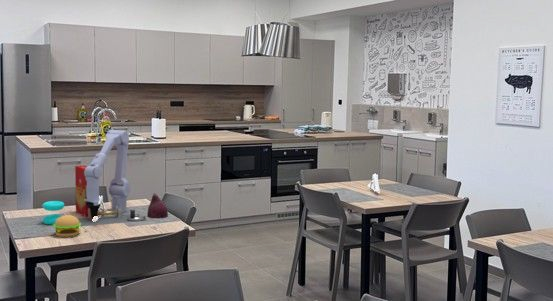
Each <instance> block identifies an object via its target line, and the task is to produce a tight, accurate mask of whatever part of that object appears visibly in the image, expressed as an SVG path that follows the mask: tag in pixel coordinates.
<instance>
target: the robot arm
mask: <svg viewBox="0 0 553 301" xmlns="http://www.w3.org/2000/svg"><path fill="white" fill-rule="evenodd" d="M129 142H130V134H129V133H128V132H127V130H118V129H117V130H116V129H108V130H107V133H105V141H104V144H103V146H102V148H101V149H100V151H99V152H97V153H95V155H94V158H93V159H92V160H91V163H90V164H89V165H86V166H87V167H86V168H85V171H84V175H85V177H86V181H87V199H84V201H89V202H86V205H87V207H88V208H90V211H91V217H92V219H93V217H94V216H97V214H98V212H99V210H100V207H101V204H100V203H99V202H100V177H101V176H102V173H103V167H104V165H105V163H106V162H107V160H108V158H107V155H108V154H109V153H110V151H111V150H112V148H113V147H116V157H115V172H114V178H112V180H110V185H109V188H108V193H109V195H110V196H111V197H112V198H111V204H110V206H111V208H110V211H116V206H117V205H119V206H121V207H122V214H124V213H127V209H128V208H127V199H128V197H129V195H130V193H131V188H130V182H129V180H127V178H126V174H127V173H126V172H127V161H128V152H129V151H128V148H129V144H130V143H129Z"/></svg>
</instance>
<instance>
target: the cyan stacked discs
mask: <svg viewBox="0 0 553 301" xmlns="http://www.w3.org/2000/svg"><path fill="white" fill-rule="evenodd" d="M41 207H42V208H43V209H44V210H45V211H50V212H56V211H60V210H63V209H64V207H65V203H64V202H63V201H59V200H49V201H46V202H44V203H43V204H42V205H41ZM61 216H63V215H62V214H56V213H55V214H47V215H45V216H44V217H43V218H42V222H43V224H45V225H50V224H52V226H53V224H55V222H56V220H57V219H58V218H59V217H61Z"/></svg>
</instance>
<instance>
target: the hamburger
mask: <svg viewBox="0 0 553 301" xmlns="http://www.w3.org/2000/svg"><path fill="white" fill-rule="evenodd" d="M80 225H81V223H79V220H78V217H76V216H74V215H71V214H65V215H62V216H61V217H59V218H58V219H57V220H56V222H55V224H53V225H52V227H54V229H55V233H54V234H55V236H57V237H61V238H71V237H76V236H78V234H80V227H81V226H80Z"/></svg>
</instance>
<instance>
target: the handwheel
mask: <svg viewBox="0 0 553 301" xmlns="http://www.w3.org/2000/svg"><path fill="white" fill-rule="evenodd" d="M129 213H130V216H127V220H128V221H137V222H143V221H142V220H145V219H146V215H143V214H139V215H135V214H136V210H135V209H130V210H129Z"/></svg>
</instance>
